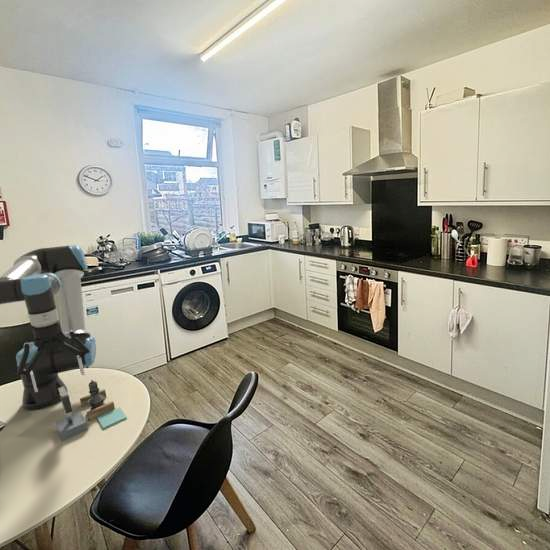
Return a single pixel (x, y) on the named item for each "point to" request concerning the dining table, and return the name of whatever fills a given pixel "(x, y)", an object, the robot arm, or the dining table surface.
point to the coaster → (111, 418)
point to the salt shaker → (95, 396)
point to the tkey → (66, 403)
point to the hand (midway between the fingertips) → (60, 381)
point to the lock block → (71, 426)
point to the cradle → (99, 410)
